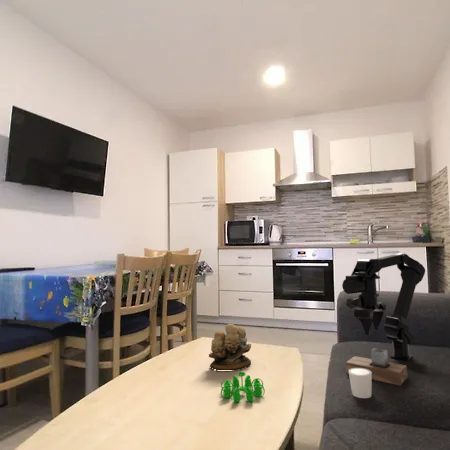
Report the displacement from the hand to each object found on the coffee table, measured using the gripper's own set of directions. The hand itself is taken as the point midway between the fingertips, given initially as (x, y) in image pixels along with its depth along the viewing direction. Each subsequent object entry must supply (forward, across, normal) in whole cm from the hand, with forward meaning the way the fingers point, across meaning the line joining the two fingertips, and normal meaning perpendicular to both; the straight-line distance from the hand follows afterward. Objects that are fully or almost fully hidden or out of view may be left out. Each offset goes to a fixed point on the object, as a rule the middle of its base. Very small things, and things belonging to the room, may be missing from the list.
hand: (371, 332), depth 132 cm
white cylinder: (+12, +28, +6) cm, 31 cm away
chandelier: (+12, +50, -24) cm, 57 cm away
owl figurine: (+12, +32, -45) cm, 57 cm away
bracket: (+12, +11, +6) cm, 17 cm away
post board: (+12, +11, +4) cm, 17 cm away
